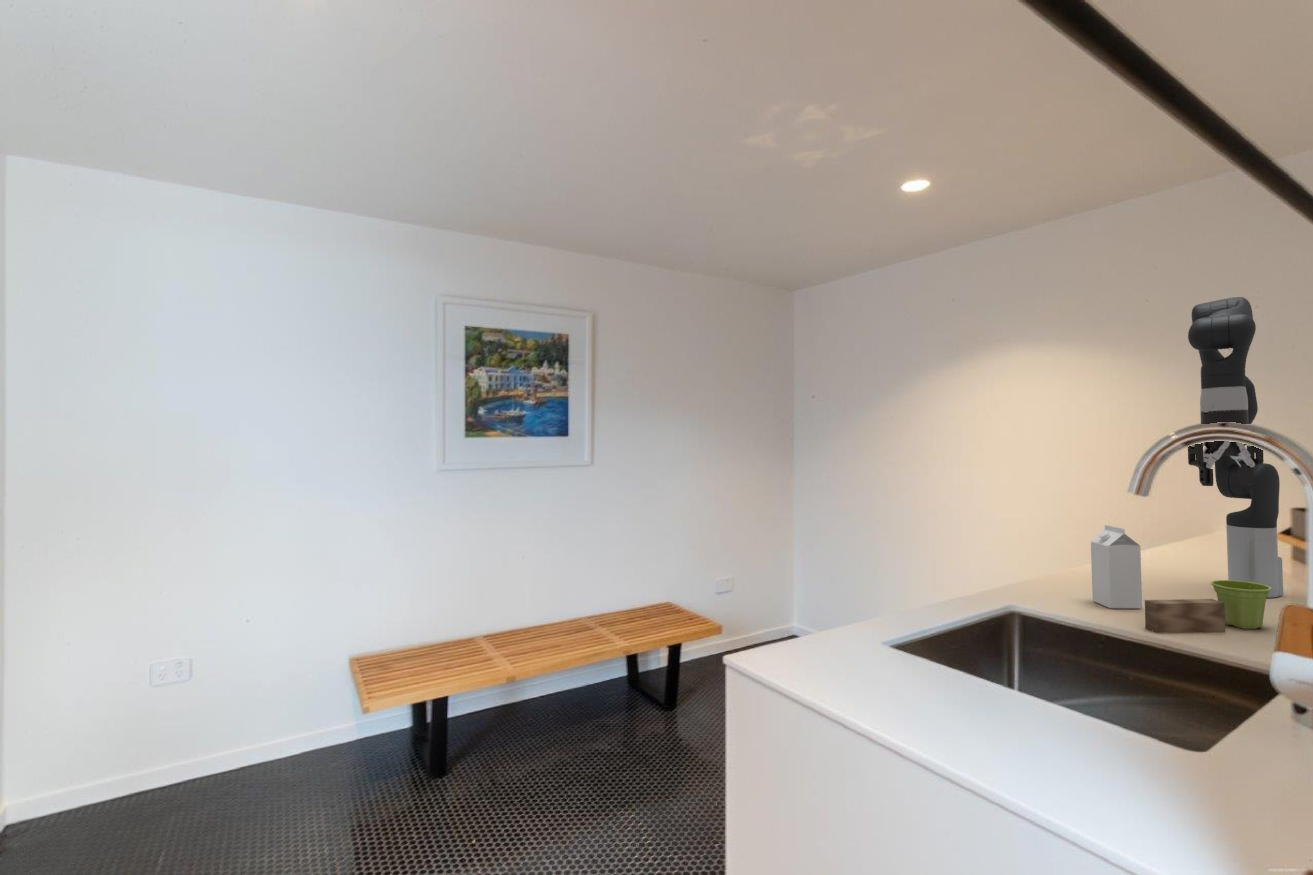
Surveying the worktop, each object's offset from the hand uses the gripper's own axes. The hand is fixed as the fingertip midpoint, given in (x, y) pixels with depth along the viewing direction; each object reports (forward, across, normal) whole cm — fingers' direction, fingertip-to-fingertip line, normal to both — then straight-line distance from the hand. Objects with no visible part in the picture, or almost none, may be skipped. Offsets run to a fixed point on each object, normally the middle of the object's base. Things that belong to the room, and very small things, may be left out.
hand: (1226, 485), depth 131 cm
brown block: (+30, +12, +3) cm, 32 cm away
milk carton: (+30, +12, -17) cm, 37 cm away
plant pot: (+30, -2, 0) cm, 30 cm away
